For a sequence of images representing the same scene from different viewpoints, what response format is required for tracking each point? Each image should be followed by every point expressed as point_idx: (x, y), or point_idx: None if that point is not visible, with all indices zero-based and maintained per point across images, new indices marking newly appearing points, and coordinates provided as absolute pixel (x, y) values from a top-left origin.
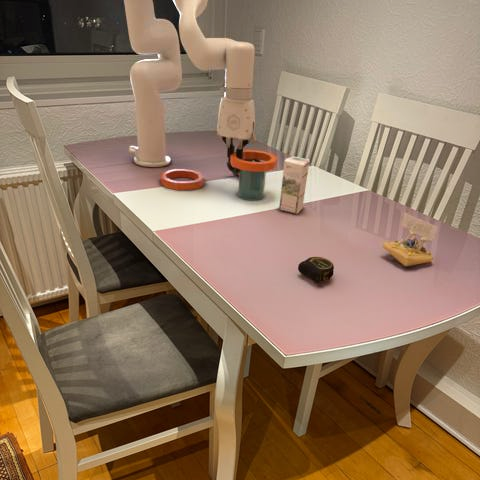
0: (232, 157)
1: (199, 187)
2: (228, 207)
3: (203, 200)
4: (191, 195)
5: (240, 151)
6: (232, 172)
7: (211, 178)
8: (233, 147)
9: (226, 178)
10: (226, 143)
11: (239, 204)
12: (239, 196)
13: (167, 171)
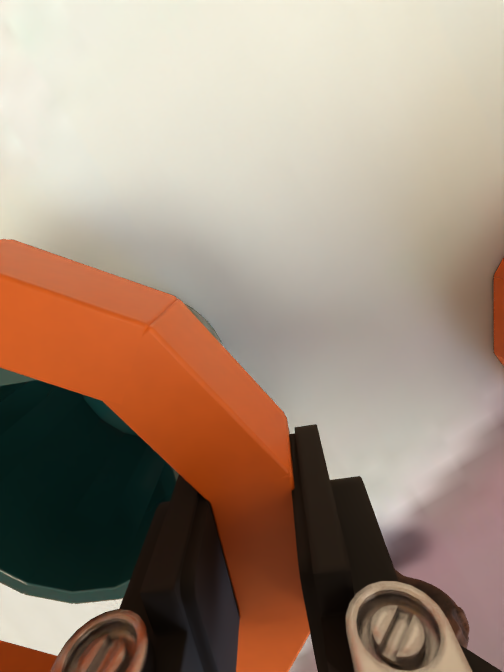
0: (181, 372)
1: (495, 277)
2: (138, 79)
3: (356, 75)
4: (483, 105)
5: (139, 590)
6: (399, 573)
7: (495, 470)
8: (316, 660)
9: (412, 518)
10: (458, 666)
11: (115, 187)
12: (188, 306)
13: None
